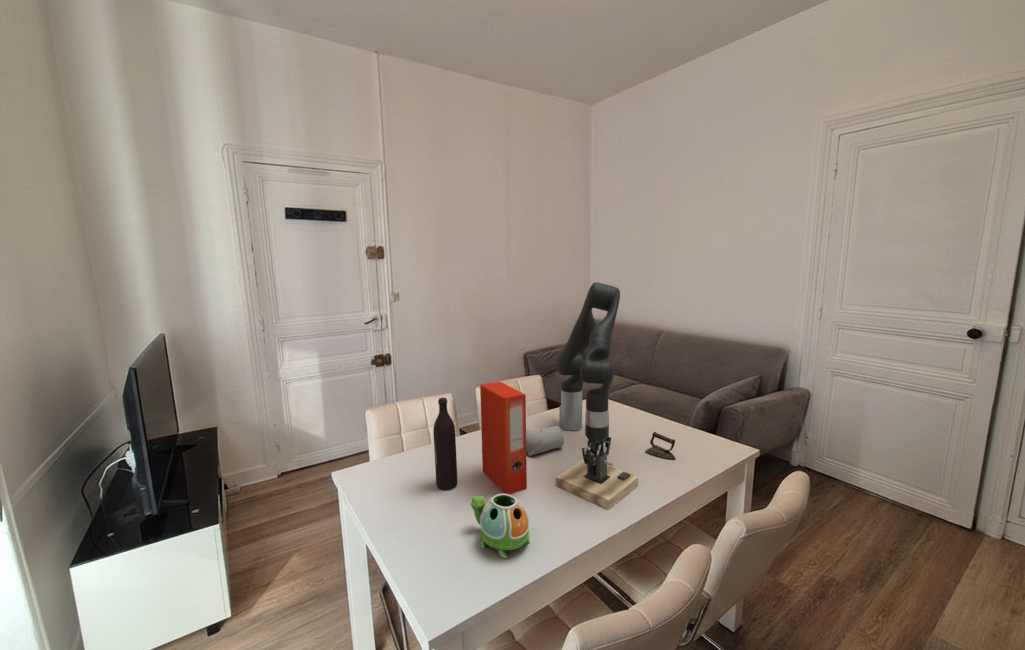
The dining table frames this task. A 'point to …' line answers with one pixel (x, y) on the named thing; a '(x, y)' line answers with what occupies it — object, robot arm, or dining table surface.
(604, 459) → the plug
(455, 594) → the dining table surface
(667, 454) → the clothes iron
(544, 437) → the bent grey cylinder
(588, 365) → the robot arm
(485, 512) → the turtle holder
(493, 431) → the file binder
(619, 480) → the socket board
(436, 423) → the wine bottle
